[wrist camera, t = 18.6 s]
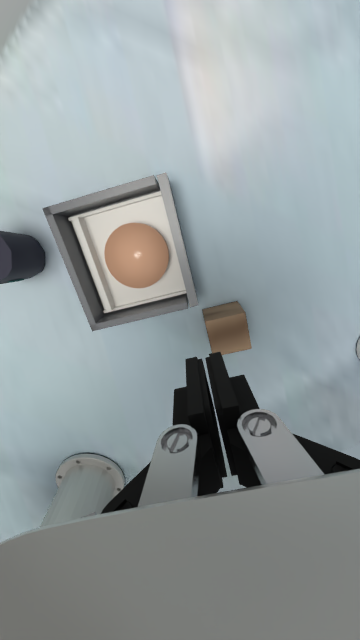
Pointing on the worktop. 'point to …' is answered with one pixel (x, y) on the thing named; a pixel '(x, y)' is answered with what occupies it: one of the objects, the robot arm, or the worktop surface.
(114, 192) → the housing
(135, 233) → the tan domed disc
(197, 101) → the worktop surface
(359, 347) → the pill bottle
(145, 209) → the tray
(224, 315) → the brown wooden cube
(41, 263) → the speaker
